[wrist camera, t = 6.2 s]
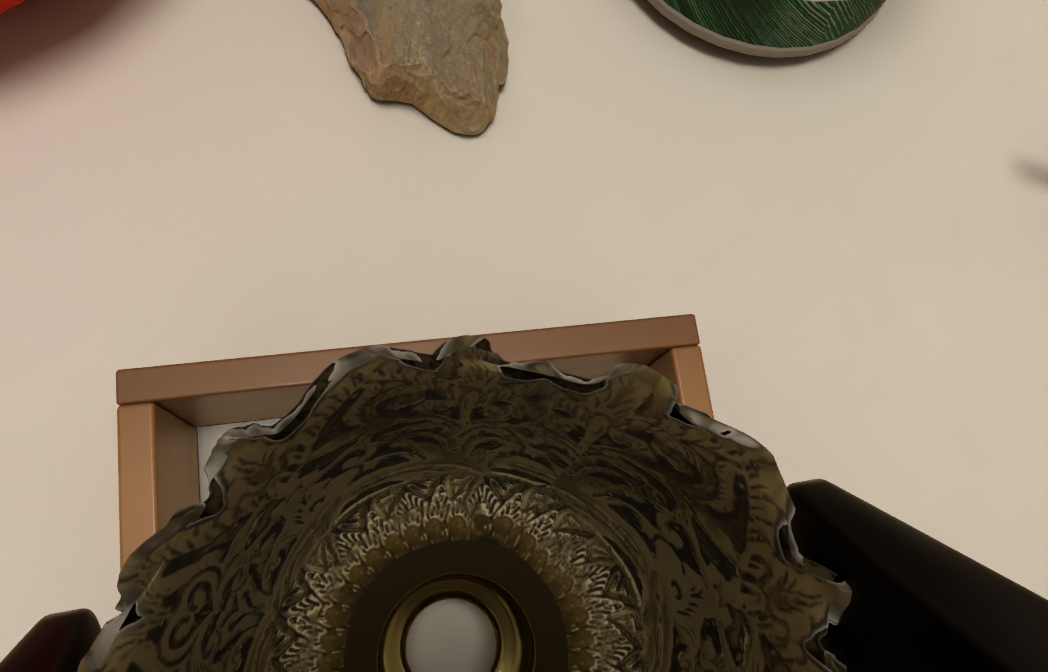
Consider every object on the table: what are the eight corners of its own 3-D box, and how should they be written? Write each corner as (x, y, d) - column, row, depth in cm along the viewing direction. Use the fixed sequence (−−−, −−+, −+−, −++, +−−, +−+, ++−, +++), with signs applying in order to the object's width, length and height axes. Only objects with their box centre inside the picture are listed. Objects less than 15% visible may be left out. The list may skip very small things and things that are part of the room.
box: (738, 859, 16) (813, 928, 13) (184, 982, 14) (129, 1093, 11) (649, 350, 18) (695, 313, 15) (165, 400, 16) (114, 369, 14)
